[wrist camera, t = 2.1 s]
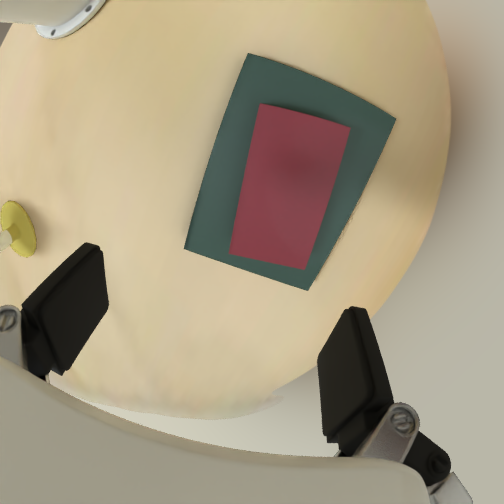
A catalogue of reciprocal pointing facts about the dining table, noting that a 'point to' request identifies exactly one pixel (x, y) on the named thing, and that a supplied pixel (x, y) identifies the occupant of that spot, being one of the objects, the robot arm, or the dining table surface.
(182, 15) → the dining table surface
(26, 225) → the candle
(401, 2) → the dining table surface
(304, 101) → the green book
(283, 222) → the burgundy book
